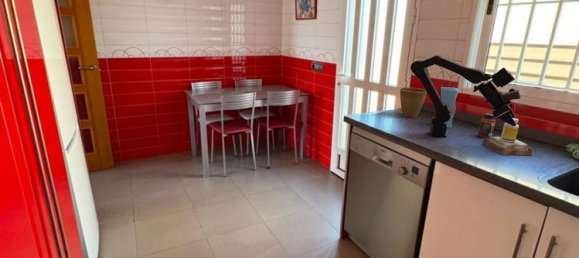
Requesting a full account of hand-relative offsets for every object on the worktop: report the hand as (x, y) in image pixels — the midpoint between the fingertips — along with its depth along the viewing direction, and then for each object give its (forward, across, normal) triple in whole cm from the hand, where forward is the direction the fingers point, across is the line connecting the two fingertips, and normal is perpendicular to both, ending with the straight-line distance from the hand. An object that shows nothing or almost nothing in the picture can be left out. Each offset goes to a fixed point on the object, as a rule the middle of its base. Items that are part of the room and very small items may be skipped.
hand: (515, 123), depth 135 cm
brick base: (+8, 0, +9) cm, 12 cm away
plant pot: (-27, +28, +44) cm, 59 cm away
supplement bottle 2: (+5, 0, +7) cm, 8 cm away
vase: (-13, +22, +30) cm, 39 cm away
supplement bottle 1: (+1, +14, +16) cm, 22 cm away
